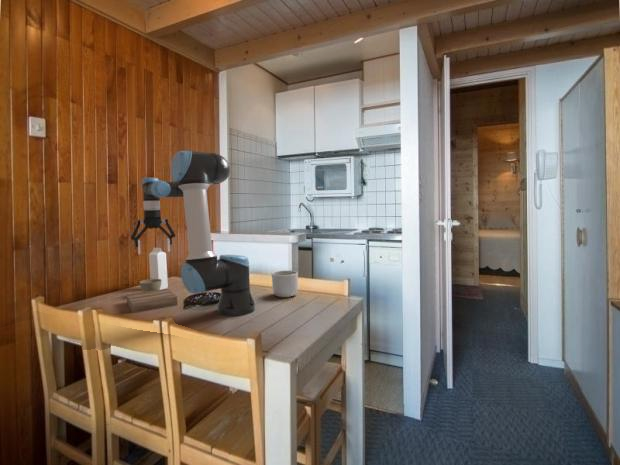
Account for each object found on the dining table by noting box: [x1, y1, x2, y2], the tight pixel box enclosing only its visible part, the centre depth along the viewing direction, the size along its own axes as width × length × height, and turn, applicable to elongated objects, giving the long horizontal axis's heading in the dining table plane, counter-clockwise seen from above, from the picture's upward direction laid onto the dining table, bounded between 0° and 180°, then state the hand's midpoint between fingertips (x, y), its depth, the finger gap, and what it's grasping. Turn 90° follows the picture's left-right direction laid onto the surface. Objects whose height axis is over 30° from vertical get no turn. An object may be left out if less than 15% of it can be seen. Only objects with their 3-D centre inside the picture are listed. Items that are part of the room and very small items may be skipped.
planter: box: [271, 270, 299, 298], centre depth 167 cm, size 12×12×11 cm
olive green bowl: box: [139, 279, 162, 292], centre depth 174 cm, size 10×10×7 cm
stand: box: [126, 288, 178, 314], centre depth 158 cm, size 18×18×4 cm
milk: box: [148, 247, 169, 290], centre depth 187 cm, size 6×6×22 cm
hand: (154, 252), depth 175 cm, fingers open, 13 cm apart
